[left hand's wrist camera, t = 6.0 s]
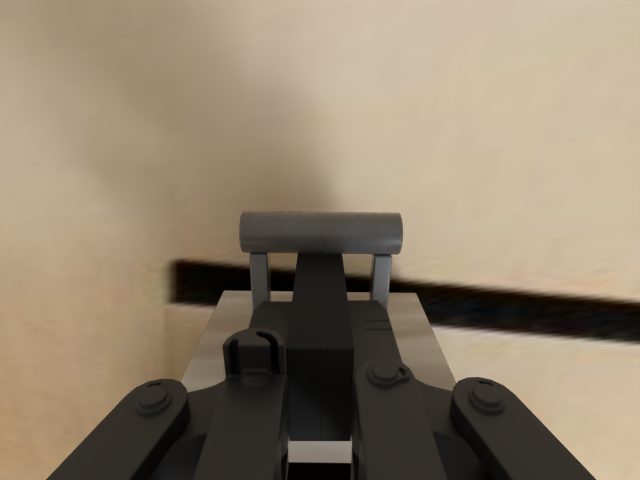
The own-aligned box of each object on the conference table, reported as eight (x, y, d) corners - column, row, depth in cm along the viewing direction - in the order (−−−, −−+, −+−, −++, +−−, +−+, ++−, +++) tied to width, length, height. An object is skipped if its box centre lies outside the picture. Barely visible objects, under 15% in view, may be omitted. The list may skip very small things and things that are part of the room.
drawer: (213, 181, 16) (124, 263, 9) (428, 185, 16) (517, 269, 9) (244, 528, 24) (211, 720, 17) (388, 530, 24) (416, 722, 17)
